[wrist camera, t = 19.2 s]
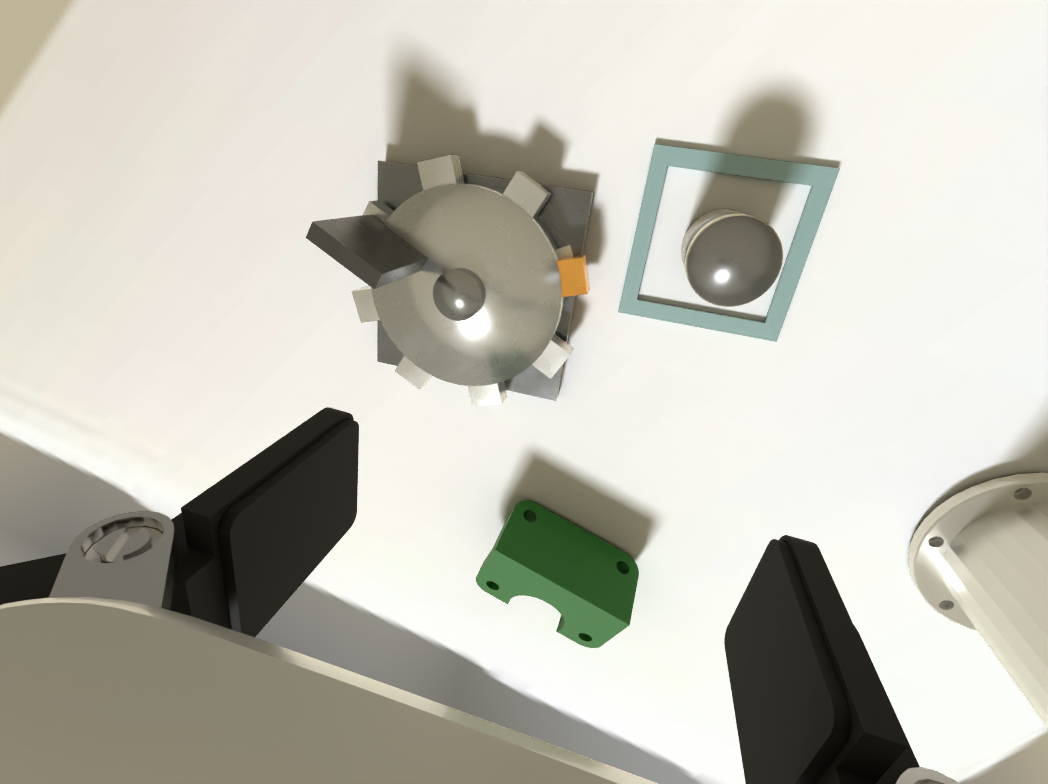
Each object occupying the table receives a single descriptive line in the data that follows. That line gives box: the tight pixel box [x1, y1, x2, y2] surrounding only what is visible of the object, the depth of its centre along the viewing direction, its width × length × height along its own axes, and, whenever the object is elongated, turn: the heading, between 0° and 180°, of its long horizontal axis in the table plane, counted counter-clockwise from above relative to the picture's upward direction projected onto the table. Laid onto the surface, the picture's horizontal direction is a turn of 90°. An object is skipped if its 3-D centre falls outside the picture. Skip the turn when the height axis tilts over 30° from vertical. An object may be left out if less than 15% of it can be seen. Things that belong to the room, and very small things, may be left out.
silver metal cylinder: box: [681, 209, 783, 307], centre depth 27 cm, size 4×4×6 cm
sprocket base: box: [378, 161, 594, 401], centre depth 34 cm, size 14×14×1 cm
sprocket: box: [306, 155, 590, 406], centre depth 30 cm, size 16×16×8 cm
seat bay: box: [618, 144, 840, 342], centre depth 30 cm, size 10×10×1 cm
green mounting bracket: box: [476, 500, 639, 648], centre depth 40 cm, size 12×6×9 cm, turn 58°
